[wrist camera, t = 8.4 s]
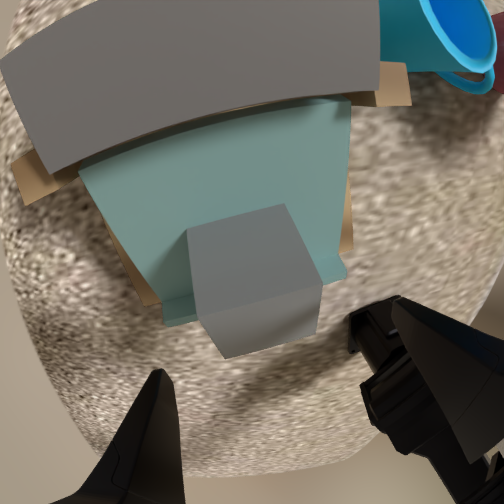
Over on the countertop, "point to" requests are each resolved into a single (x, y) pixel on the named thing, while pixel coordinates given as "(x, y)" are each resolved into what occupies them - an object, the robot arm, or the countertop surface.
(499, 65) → the plant pot
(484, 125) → the countertop surface
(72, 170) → the frame
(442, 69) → the mug
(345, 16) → the trapdoor
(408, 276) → the countertop surface
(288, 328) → the gray cube
